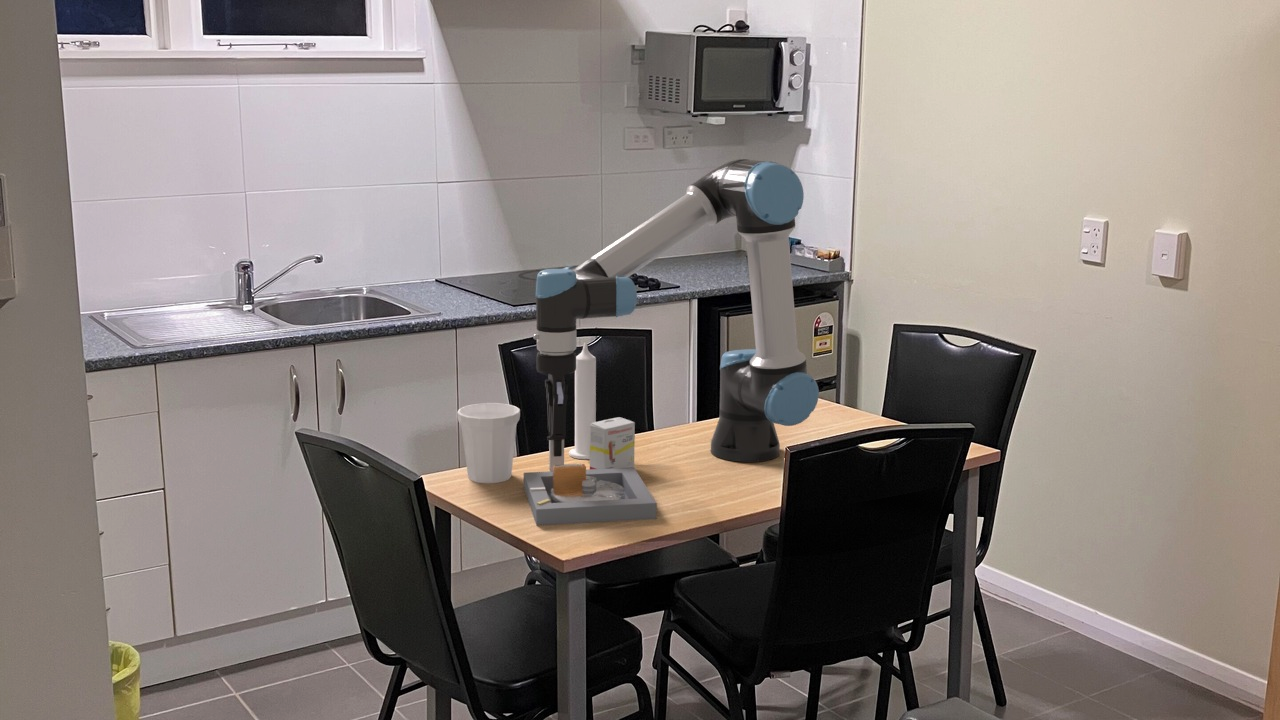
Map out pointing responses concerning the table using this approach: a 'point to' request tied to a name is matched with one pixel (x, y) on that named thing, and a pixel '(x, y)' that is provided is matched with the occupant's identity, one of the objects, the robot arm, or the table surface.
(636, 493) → the housing
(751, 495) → the table surface
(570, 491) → the dial
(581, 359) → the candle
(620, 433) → the ink box
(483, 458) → the cup
